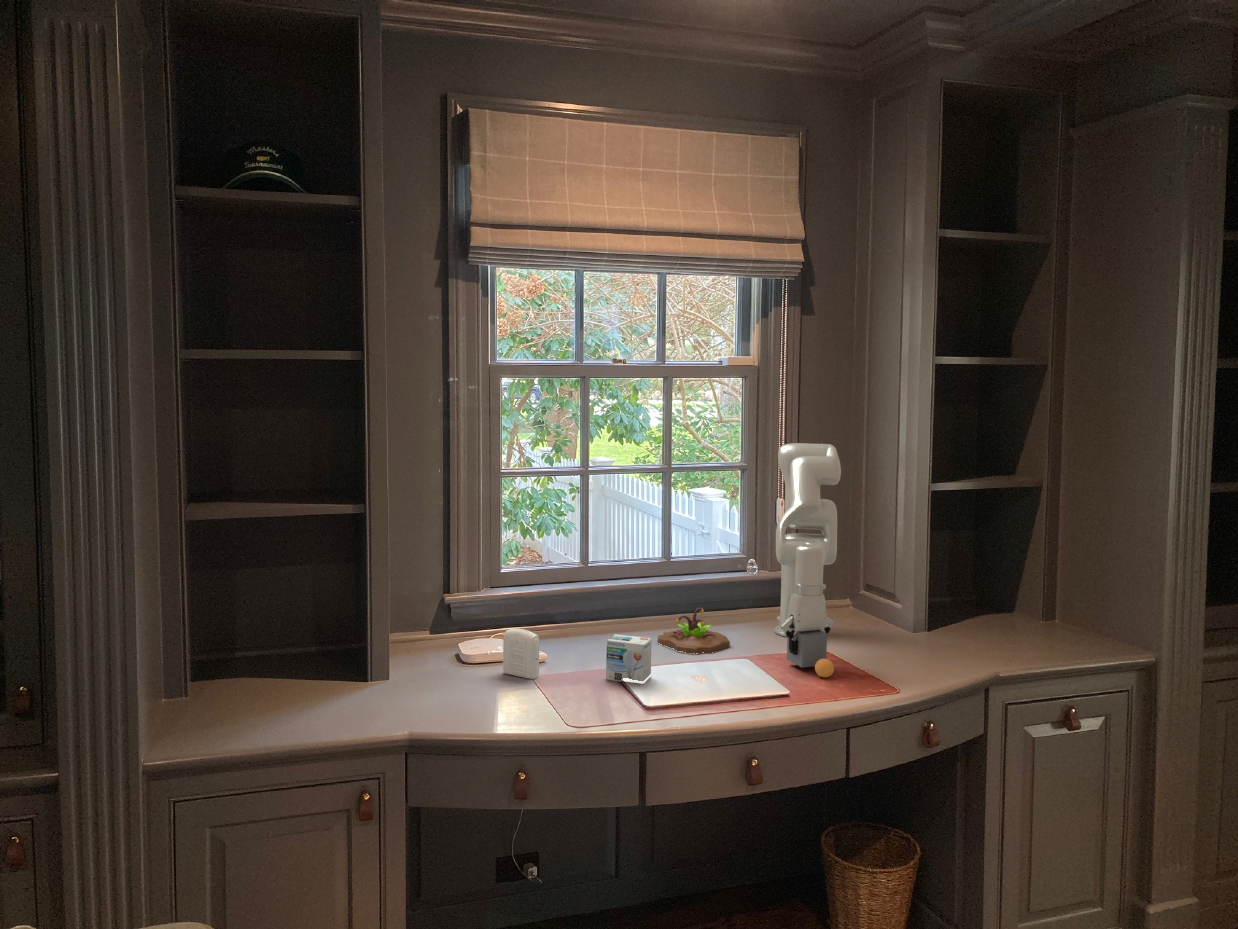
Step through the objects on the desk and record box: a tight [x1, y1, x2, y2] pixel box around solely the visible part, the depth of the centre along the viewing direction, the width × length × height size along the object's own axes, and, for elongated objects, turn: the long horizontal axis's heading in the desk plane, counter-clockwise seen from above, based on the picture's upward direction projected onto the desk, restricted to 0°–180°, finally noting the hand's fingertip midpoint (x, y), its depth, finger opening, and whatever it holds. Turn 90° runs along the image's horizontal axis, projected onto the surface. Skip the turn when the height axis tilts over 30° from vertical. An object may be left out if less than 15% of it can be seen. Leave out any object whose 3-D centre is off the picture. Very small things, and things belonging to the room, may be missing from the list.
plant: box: [657, 607, 731, 654], centre depth 274 cm, size 20×20×11 cm
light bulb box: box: [605, 633, 653, 683], centre depth 241 cm, size 11×7×11 cm, turn 70°
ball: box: [814, 658, 835, 678], centre depth 245 cm, size 5×5×5 cm
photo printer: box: [502, 628, 540, 680], centre depth 243 cm, size 10×4×12 cm, turn 60°
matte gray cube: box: [786, 628, 828, 668], centre depth 252 cm, size 8×8×9 cm
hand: (806, 651), depth 253 cm, fingers closed on matte gray cube, 7 cm apart
